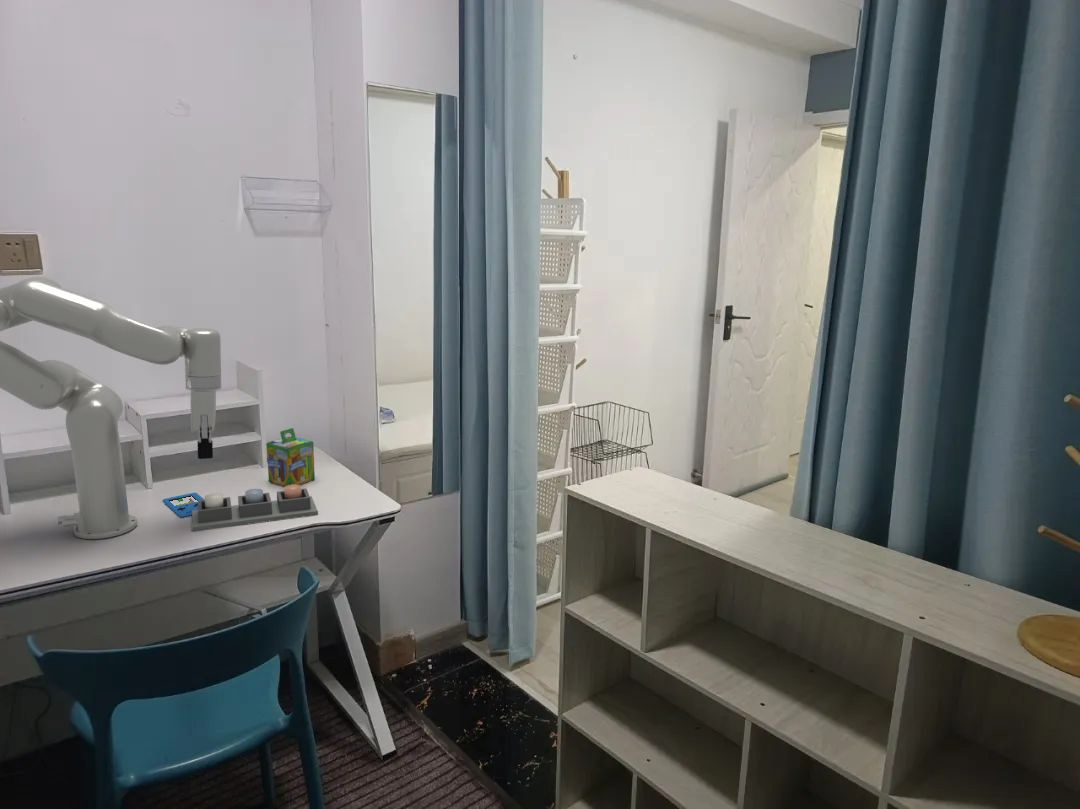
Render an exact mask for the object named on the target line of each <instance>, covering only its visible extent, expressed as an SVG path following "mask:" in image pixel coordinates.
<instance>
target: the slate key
mask: <svg viewBox="0 0 1080 809" xmlns="http://www.w3.org/2000/svg"><path fill="white" fill-rule="evenodd" d="M244 493H245V494H244V495H245V496H246V504H253V503H261V502H264V500H263V493H264V490H263V489H262V488H251V489H248V490H246V491H245V492H244Z"/></svg>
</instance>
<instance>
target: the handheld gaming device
mask: <svg viewBox="0 0 1080 809" xmlns="http://www.w3.org/2000/svg"><path fill="white" fill-rule="evenodd" d="M191 496H192V497H193V498H194V499H195V500H197V501H201V500H205V498H203V497H202V496H201V495H199V493H197V492H191V493H186V494H181V495H176V496H172V497H166V498H163V499H162V503H163V502H164V503H165V505H166V506H167V508H169V509H170V510H171V511H172V512H173V513H174V514H175V515H176V514H177V515H178V516H179V517H180V519H185V517H186V518H191V517H192V510H198V502H194V501H193V500H192V499H191V498H190V499H189V500H190V501H189V502H188V503H184V504H179V505H176V506H174V505H173V504H172V503H171V502H170V501H173V500H178V501H179V502H180V501H183V499H182V498H186V497H191ZM164 503H163V504H164ZM177 515H176V516H177ZM178 516H177V517H178ZM190 516H191V517H190ZM179 517H178V518H179Z"/></svg>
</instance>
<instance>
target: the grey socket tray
mask: <svg viewBox="0 0 1080 809" xmlns="http://www.w3.org/2000/svg"><path fill="white" fill-rule="evenodd" d="M301 491H302V498H294V499H286V500H285V491H284V490H280V491H276V500H272V499H271V495H270V492H263V500H264V502H261V503H253V504H246V496H245V494H244V495H237V497H238V498H237V500H238V504H237V505H236V504H235V505H232V504H231V503H232V502H231V497H230V496H229V497H223V504H224V507H220V508H211V509H205V499H204V500H201V501H198V510H192V516H191V518H192V519H191V520H192V522H191V530H192V532H198V531H197V530H199V531H205V530H204V529H206V530H213V528H214V529H221V528H228V527H237V526H243V525H242V524H244V525H249V524H248V523H252V524H256V523H255V522H260V523H263V522H262V521H267V522H272V521H271V520H275V521H280V520H279V519H282V520H287V519H286V518H290V519H295V518H294V517H298V518H303V517H302V516H305V517H310V515H313V516H318V515H319V510H318V509H317V506H316V503H315V501H314V498H313V496H312V495H311V496H310V494H309V491H308V489H307V488H306V487H305V488H301ZM269 520H270V521H269ZM236 525H237V526H236Z"/></svg>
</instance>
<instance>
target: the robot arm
mask: <svg viewBox="0 0 1080 809" xmlns="http://www.w3.org/2000/svg"><path fill="white" fill-rule="evenodd" d="M33 321H34V322H37V323H41V324H42V325H46V326H49V327H51V328H56V329H58V330H61V331H65V332H67V333H71V334H73V335H77V336H80V337H82V338H85V339H89V340H90V341H93V342H95V343H96V344H100V345H101V346H104V347H107V348H109V349H111V350H113V351H116V352H118V353H121V354H123V355H127V356H129V357H131V358H132V357H133V358H135V359H138V360H142V361H145V362H148V363H152V364H155V365H161V366H163V365H164V366H165V365H166V366H167V365H170V364H172V363H175V362H176V361H177V360H178V359H179V358H180V357H181V358H182V357H183V358H184V372H185V376H184V377H185V389H186V390H187V391H190V428H191V429H190V432H191V433H193V434H194V433H195V432H197V433H198V434H197V435H198V436H197V437H198V438H197V439H198V440H197V459H198V460H204V459H205V460H207V459H213V457H214V455H213V454H214V453H213V452H214V451H213V444H214V442H213V440H212V433H213V432H215V426H216V425H215V424H216V418H217V417H216V414H217V413H216V412H217V395H216V394H217V391H218V390H221V389H222V357H221V354H222V353H221V350H222V348H221V334H220V332H219V331H218V330H217V329H214V328H207V327H200V328H199V327H196V328H195V327H194V328H184V327H179V326H173V325H172V326H171V325H161V326H158V327H156V328H155V327H152V326H150V325H146V324H143V323H142V322H138V321H135V320H133V319H131V318H128V317H126V316H124V315H122V314H121V313H120V312H117V311H116V310H115V309H114V308H112V307H111V305H109V304H107V303H105V302H103V301H101V300H99V299H95V298H93V297H90V296H87V295H83V294H81V293H78V292H74V291H72V290H69V289H66V288H64V287H62V286H61V285H60V284H59V283H58V282H57V281H55V280H54V279H52V278H50V277H49V278H48V277H45V276H33V277H29V278H25V279H22V280H20V281H19V282H16V283H13V284H11V285H8V286H4V287H0V332H2V331H5V330H8V329H12V328H15V327H18V326H20V325H24V324H26V323H30V322H33ZM0 389H2V390H4V391H5V392H6V393H9V394H10V395H12V396H14V397H15V398H18V399H19V400H21V401H23V402H24V403H26V404H28V405H30V406H31V407H34V408H36V409H39V410H52V409H55V408H57V407H59V408H61V409H62V410H64V411H66V416H65V427H66V428H65V429H66V434H67V437H68V441H69V444H70V445H69V446H70V449H71V450H70V452H71V456H72V465H73V471H74V479H75V488H76V495H77V501H78V502H77V503H78V510H79V511H78V512H75V513H74V514H72V515H68V514H67V515H66V514H65V515H58V516H57V526H59V525H60V526H61V525H62V527H63V528H65V527H70V526H71V527H72V526H73V534H74V536H75V537H76V538H77V537H78V538H80V539H84V540H85V539H86V540H97V539H98V540H99V539H107V538H112V537H113V538H114V537H117V536H120V535H123V534H126V533H128V532H130V531H132V530H134V528H136V527H137V525H138V518H137V517H136V516H134V515H132V514H130V513H129V507H128V506H129V505H128V496H127V487H126V478H125V469H124V461H123V452H122V445H121V439H120V434H119V426H118V424H119V420H120V417H121V416H122V413H123V408H124V405H123V401H122V399H121V397H120V396H119V394H118V393H117V392H116V391H114V390H113V389H112V388H110V387H108V386H107V385H105V384H103V383H102V382H100V381H98V380H97V379H95V378H94V377H91V376H90V375H88V374H86V373H85V372H83V371H81V370H80V369H78V368H76V367H75V366H73V365H71V364H70V363H67V362H64V361H61V360H56V359H48V360H43V361H39V360H37V359H35V358H33V357H32V356H30V355H28V354H26V353H25V352H24V351H22V350H20V349H18V348H17V347H15V346H12V344H11V345H10V344H8V343H5V342H4V341H2V340H0Z"/></svg>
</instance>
